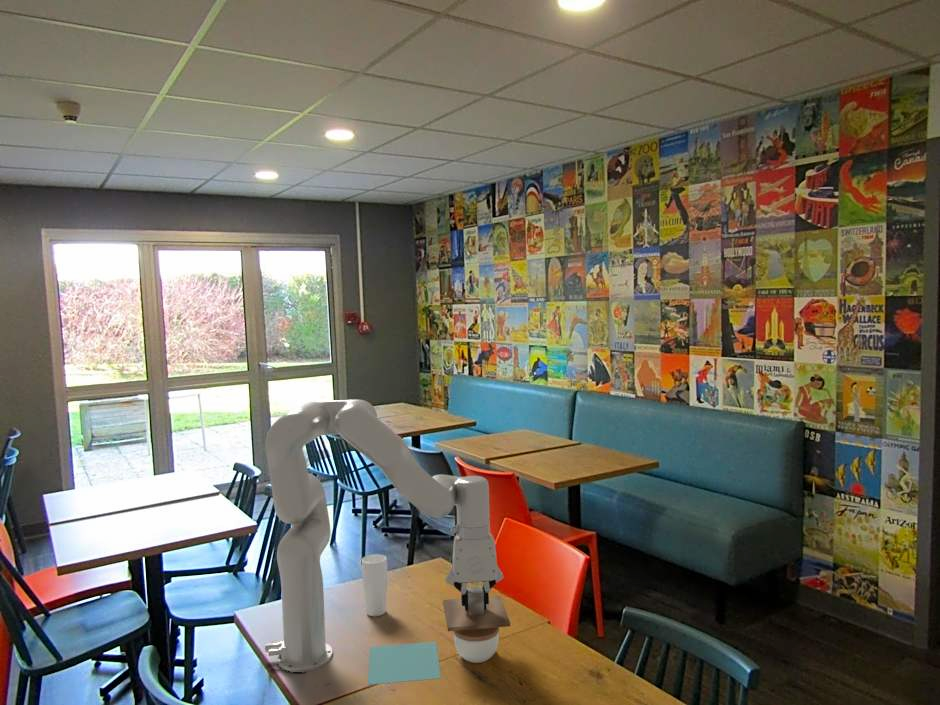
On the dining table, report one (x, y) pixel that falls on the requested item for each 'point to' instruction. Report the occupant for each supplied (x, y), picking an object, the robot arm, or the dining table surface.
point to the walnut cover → (475, 612)
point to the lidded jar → (476, 643)
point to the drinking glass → (375, 583)
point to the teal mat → (403, 663)
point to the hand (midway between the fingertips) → (475, 607)
